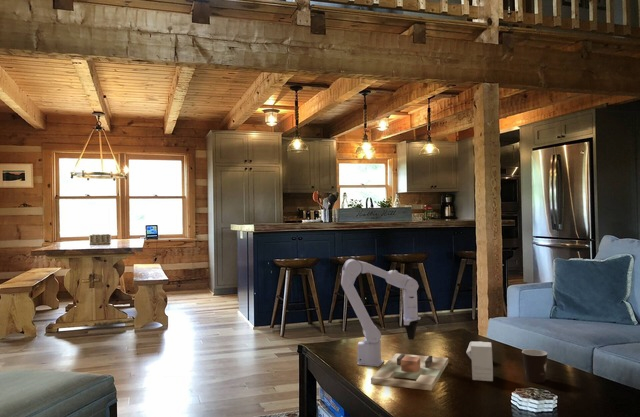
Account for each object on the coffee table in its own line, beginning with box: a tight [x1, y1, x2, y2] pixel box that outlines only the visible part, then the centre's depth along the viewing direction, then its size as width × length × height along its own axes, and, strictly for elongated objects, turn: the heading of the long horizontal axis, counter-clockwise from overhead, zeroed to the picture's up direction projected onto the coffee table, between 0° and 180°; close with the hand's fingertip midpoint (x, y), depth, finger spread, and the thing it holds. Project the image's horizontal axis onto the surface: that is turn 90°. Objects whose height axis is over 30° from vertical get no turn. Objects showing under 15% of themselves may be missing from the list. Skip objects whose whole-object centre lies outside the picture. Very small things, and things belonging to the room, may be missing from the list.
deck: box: [370, 353, 449, 391], centre depth 195 cm, size 22×35×4 cm, turn 157°
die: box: [466, 341, 483, 361], centre depth 208 cm, size 8×9×10 cm
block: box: [401, 356, 420, 372], centre depth 192 cm, size 6×6×4 cm
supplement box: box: [471, 341, 494, 382], centre depth 187 cm, size 7×7×13 cm
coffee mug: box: [521, 348, 548, 384], centre depth 184 cm, size 12×9×10 cm
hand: (411, 339), depth 209 cm, fingers closed
